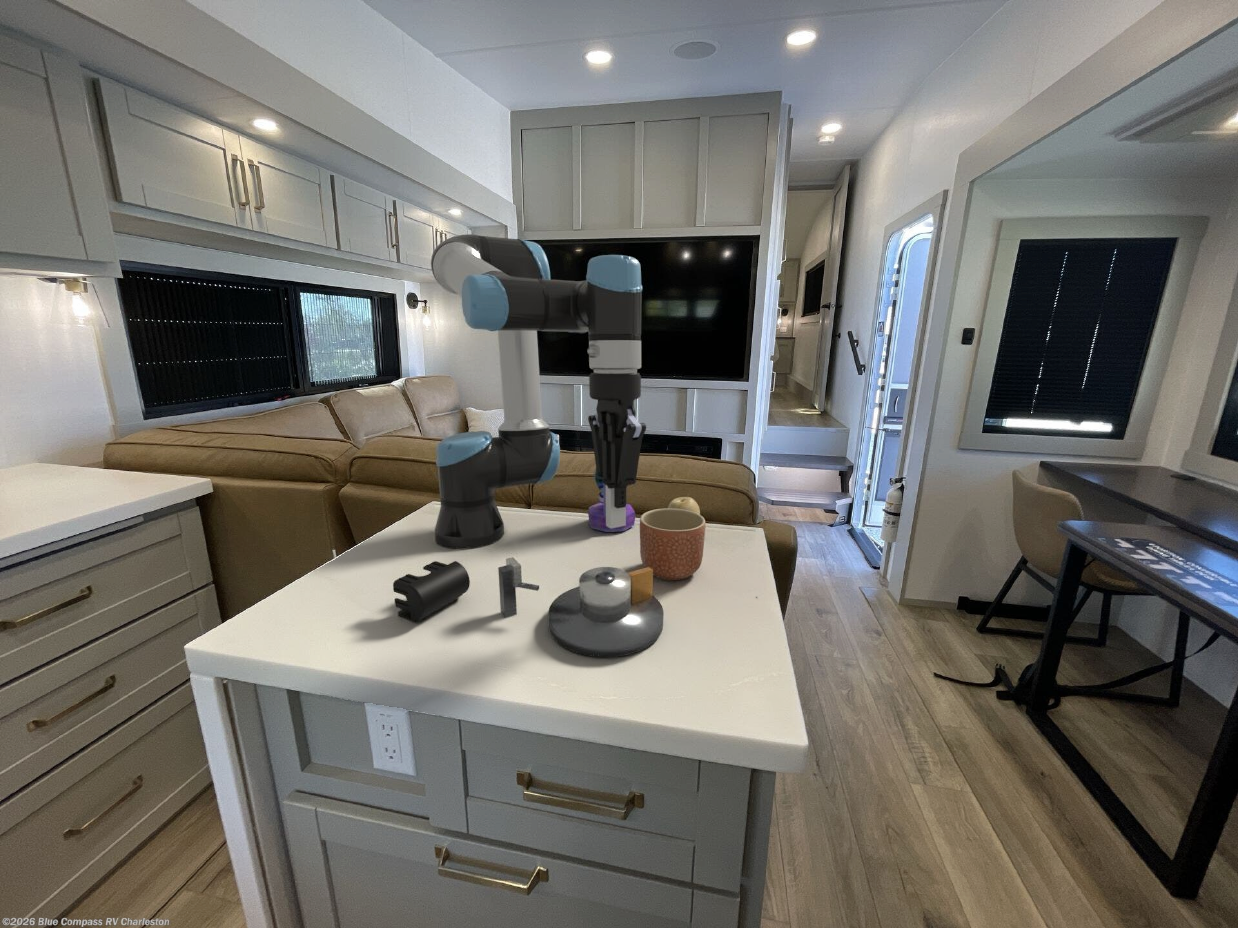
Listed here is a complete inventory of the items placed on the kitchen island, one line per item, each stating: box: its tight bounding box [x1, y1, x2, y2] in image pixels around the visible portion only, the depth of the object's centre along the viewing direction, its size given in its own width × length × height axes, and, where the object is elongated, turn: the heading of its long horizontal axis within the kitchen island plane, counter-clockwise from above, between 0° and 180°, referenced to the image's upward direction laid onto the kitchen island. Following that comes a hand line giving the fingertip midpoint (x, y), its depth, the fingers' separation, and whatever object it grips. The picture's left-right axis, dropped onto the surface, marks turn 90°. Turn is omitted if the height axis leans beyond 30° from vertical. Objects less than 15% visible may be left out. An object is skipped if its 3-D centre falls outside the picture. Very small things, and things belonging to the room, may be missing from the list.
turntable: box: [547, 567, 664, 658], centre depth 76 cm, size 18×18×7 cm
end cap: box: [392, 560, 471, 623], centre depth 81 cm, size 10×7×7 cm
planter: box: [639, 507, 706, 581], centre depth 94 cm, size 12×12×11 cm
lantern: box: [587, 468, 636, 533], centre depth 115 cm, size 13×12×30 cm
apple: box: [667, 496, 701, 515], centre depth 118 cm, size 8×8×8 cm
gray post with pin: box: [497, 556, 540, 618], centre depth 79 cm, size 6×5×9 cm
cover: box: [578, 566, 631, 622], centre depth 77 cm, size 8×8×5 cm
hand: (615, 525), depth 76 cm, fingers closed
